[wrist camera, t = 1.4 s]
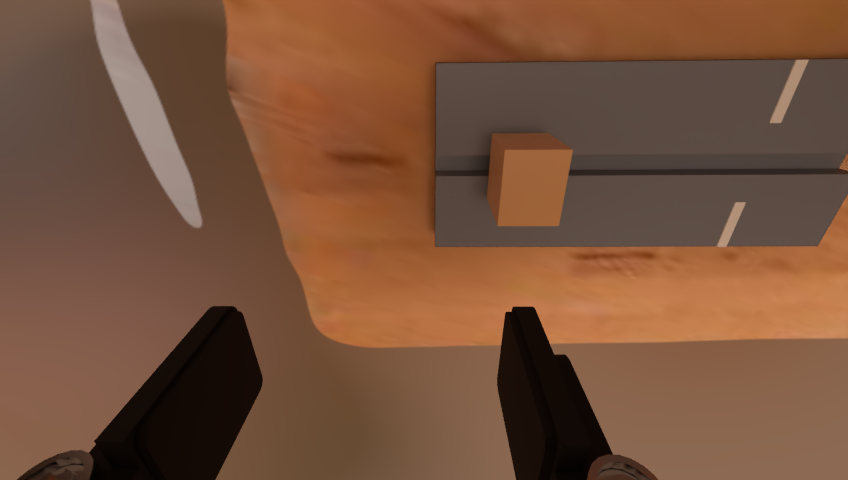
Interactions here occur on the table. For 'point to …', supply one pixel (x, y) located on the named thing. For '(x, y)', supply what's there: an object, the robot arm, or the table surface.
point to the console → (651, 150)
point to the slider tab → (527, 178)
